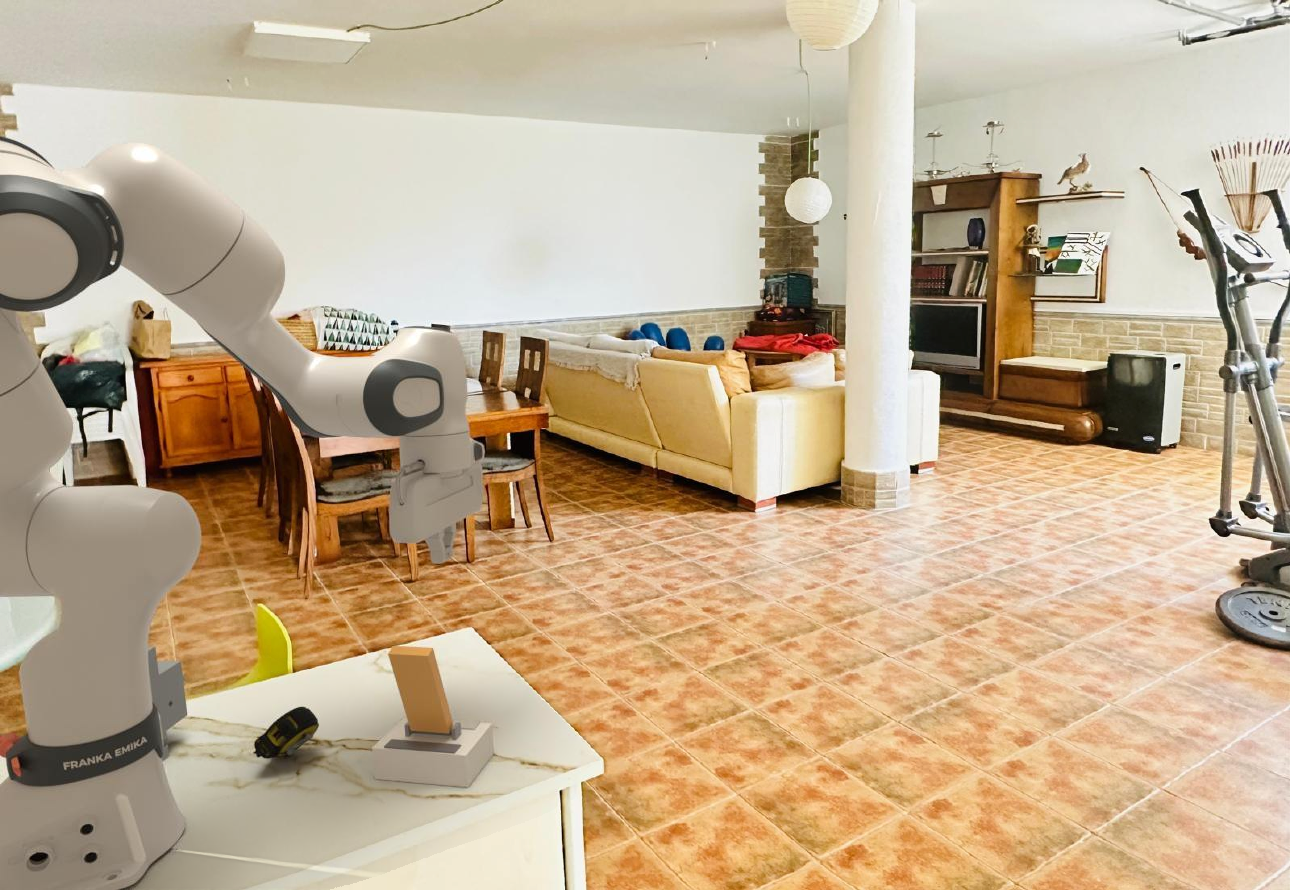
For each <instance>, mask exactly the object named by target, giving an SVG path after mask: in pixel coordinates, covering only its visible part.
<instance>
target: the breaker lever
mask: <svg viewBox="0 0 1290 890" xmlns="http://www.w3.org/2000/svg"><path fill="white" fill-rule="evenodd" d="M387 656H388V659H389V662H390V666H391V669H392V672H393V675H394V678H395V683H396V686H397V689H398V692H399V695H400V699H401V702H402V706H403V709H404V711H405V712H404V713H405V717H407V719H408V723H409V726H410V730H411V731H412V732H413V733H418V734H431V735H444V736H452V734H451V728H452V727H453V721H452V720H453V717H452V714H451V710H450V706H449V704H448V703H449V702H448V699H447V695H446V692H445V688H444V684H443V681H442V676H441V673H440V669H439V666H438V661H437V659H436V655H435V650H434V648H433V647H423V646H405V645H403V646H402V645H392V647H391V648H390V650H389V651H388V653H387Z"/></svg>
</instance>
